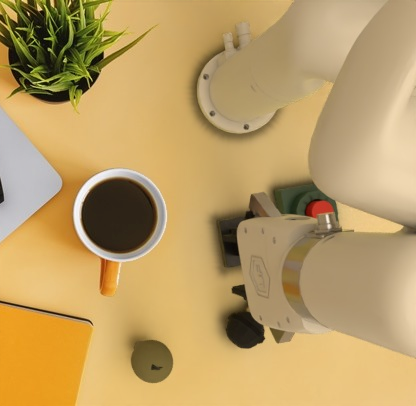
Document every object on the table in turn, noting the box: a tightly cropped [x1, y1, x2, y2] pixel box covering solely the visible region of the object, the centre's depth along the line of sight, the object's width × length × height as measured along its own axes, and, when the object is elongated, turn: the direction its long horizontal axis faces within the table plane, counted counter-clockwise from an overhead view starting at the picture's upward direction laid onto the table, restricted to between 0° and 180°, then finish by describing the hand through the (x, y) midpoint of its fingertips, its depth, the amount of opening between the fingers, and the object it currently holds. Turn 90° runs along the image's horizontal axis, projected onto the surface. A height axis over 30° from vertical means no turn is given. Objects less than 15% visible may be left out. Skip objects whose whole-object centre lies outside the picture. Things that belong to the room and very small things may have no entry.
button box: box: [273, 183, 340, 224], centre depth 81 cm, size 8×8×4 cm
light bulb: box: [130, 339, 174, 384], centre depth 75 cm, size 6×6×10 cm
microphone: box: [225, 305, 266, 350], centre depth 80 cm, size 6×6×20 cm
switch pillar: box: [216, 215, 245, 268], centre depth 69 cm, size 7×7×26 cm
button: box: [306, 201, 334, 219], centre depth 78 cm, size 3×3×2 cm
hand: (240, 261), depth 61 cm, fingers closed on switch lever, 5 cm apart
